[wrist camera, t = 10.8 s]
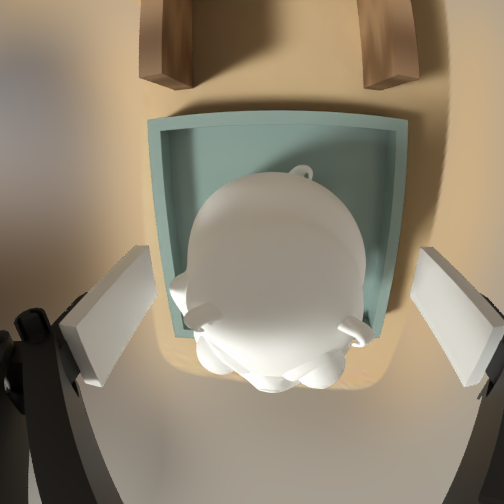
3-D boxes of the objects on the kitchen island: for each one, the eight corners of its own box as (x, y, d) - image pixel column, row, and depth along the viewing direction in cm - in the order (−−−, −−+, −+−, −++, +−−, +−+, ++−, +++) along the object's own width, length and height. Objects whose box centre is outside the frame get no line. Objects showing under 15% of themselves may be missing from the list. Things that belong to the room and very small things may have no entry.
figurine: (222, 139, 18) (146, 155, 7) (367, 183, 19) (472, 258, 7) (190, 275, 22) (127, 402, 11) (317, 309, 22) (342, 447, 11)
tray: (161, 120, 19) (147, 119, 16) (393, 120, 17) (407, 119, 15) (183, 318, 24) (175, 337, 22) (371, 319, 23) (379, 337, 21)
